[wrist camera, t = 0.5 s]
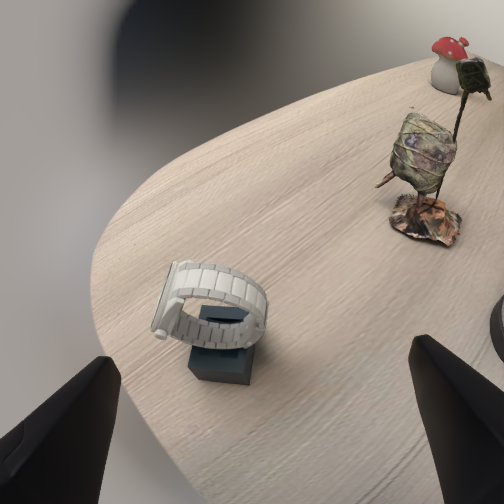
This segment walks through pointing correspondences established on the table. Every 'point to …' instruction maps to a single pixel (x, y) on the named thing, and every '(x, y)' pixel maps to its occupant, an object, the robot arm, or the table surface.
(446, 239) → the plant with pod
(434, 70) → the decorative ornament
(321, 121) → the table surface
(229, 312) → the watch
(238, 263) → the table surface
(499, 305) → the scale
